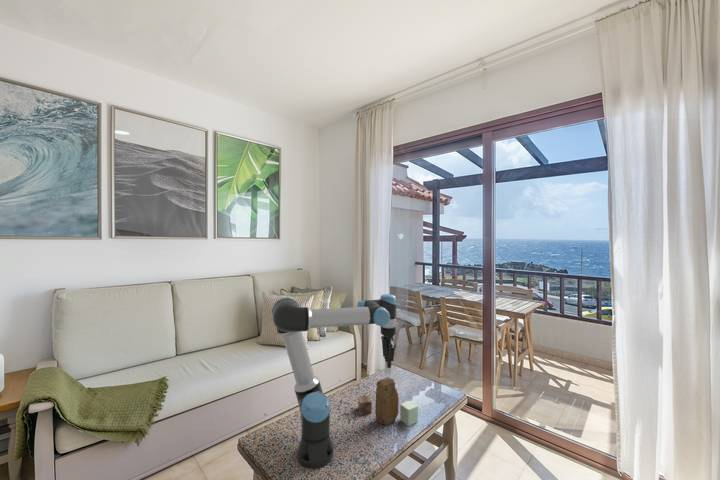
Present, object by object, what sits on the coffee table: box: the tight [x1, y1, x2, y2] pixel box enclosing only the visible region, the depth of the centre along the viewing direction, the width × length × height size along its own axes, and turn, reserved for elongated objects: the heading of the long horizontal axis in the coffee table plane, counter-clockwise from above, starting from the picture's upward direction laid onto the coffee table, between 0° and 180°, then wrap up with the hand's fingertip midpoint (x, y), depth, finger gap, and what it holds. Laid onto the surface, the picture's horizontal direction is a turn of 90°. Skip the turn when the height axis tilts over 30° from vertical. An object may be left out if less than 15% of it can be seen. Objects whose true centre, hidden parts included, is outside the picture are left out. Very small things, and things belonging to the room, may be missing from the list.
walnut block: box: [357, 395, 373, 415], centre depth 159 cm, size 6×6×6 cm
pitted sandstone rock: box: [374, 377, 400, 425], centre depth 151 cm, size 11×8×20 cm
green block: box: [399, 400, 419, 427], centre depth 150 cm, size 6×6×8 cm
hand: (388, 373), depth 150 cm, fingers closed
